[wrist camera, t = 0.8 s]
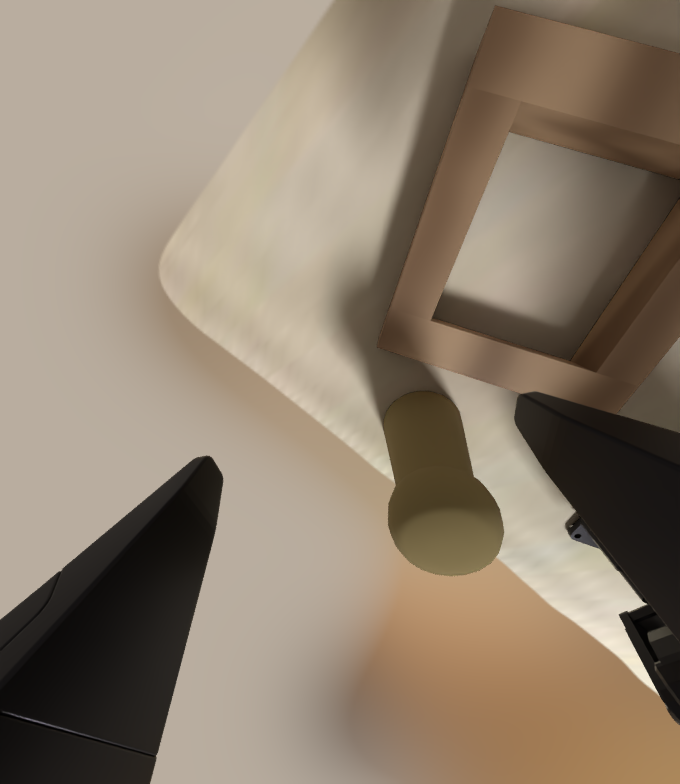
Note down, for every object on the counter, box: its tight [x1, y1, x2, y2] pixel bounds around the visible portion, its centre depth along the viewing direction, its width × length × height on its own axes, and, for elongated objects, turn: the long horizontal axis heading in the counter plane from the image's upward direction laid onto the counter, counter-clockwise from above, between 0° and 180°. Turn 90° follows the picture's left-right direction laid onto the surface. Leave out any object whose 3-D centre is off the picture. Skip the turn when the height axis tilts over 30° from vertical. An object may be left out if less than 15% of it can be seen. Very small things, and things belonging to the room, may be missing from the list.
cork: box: [384, 391, 504, 576], centre depth 17 cm, size 6×6×11 cm
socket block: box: [377, 6, 680, 414], centre depth 15 cm, size 15×15×2 cm
